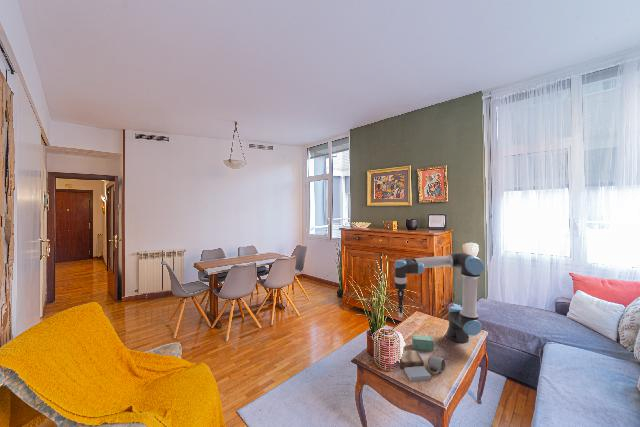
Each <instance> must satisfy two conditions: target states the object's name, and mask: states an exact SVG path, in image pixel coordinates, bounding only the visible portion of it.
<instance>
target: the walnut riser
mask: <svg viewBox="0 0 640 427" xmlns="http://www.w3.org/2000/svg"><path fill="white" fill-rule="evenodd" d="M402 350H403V354H402V357H401V359H400V366H399V368H400V369H401V370H404V368H406V367H417V366H424V367H425V362H424V360H423V359H422V357H421V355H420V353H419V352H418V349H411V350H410V349H402Z"/></svg>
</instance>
